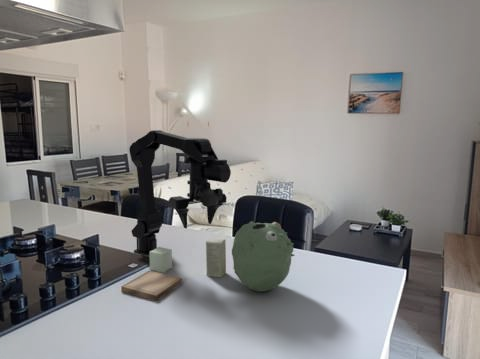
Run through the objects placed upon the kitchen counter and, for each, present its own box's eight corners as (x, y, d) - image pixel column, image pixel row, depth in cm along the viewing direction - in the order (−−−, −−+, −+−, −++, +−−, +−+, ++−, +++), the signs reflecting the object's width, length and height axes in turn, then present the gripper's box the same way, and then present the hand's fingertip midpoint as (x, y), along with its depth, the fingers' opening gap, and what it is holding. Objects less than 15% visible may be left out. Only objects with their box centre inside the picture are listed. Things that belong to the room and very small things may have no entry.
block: (149, 269, 115) (149, 251, 114) (159, 264, 120) (159, 246, 119) (162, 272, 113) (162, 254, 112) (172, 266, 118) (171, 249, 117)
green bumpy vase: (245, 271, 115) (246, 210, 112) (301, 286, 105) (304, 220, 102) (217, 291, 102) (218, 222, 98) (278, 309, 92) (281, 234, 89)
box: (226, 272, 114) (226, 239, 112) (221, 278, 110) (221, 243, 108) (211, 270, 116) (211, 237, 114) (205, 275, 112) (205, 241, 110)
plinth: (121, 291, 100) (121, 286, 100) (149, 275, 111) (149, 270, 111) (156, 300, 95) (156, 295, 95) (181, 282, 106) (181, 277, 106)
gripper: (185, 185, 102) (185, 238, 105) (237, 180, 114) (235, 227, 116) (167, 179, 110) (167, 228, 113) (217, 174, 122) (216, 219, 125)
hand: (197, 225), depth 117 cm, fingers open, 9 cm apart
